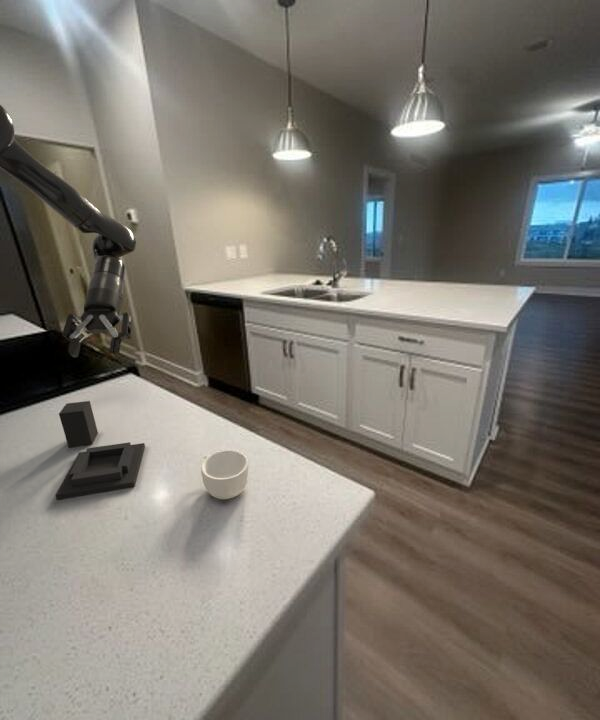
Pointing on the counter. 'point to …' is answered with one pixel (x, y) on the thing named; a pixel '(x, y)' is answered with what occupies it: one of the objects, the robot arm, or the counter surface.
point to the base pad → (100, 466)
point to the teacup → (225, 473)
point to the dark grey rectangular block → (78, 423)
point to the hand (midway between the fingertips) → (93, 355)
